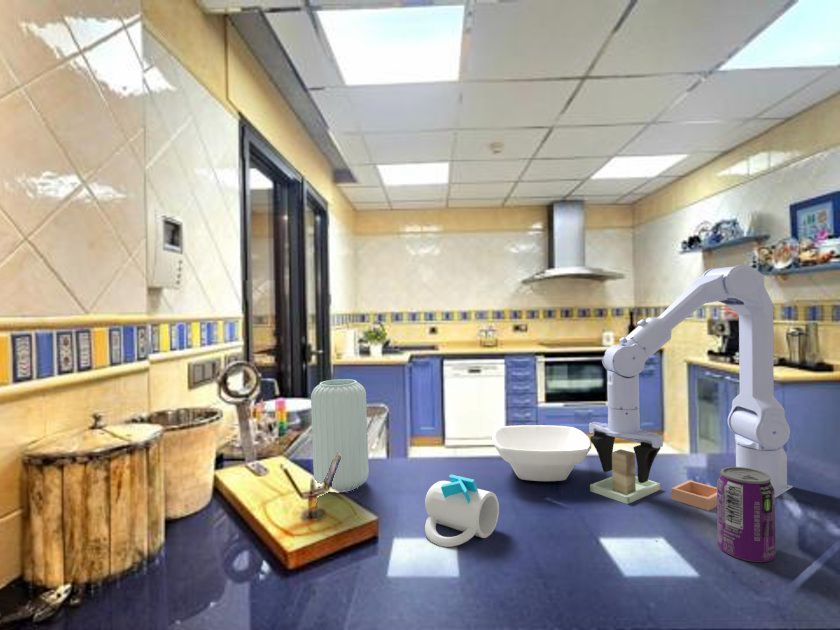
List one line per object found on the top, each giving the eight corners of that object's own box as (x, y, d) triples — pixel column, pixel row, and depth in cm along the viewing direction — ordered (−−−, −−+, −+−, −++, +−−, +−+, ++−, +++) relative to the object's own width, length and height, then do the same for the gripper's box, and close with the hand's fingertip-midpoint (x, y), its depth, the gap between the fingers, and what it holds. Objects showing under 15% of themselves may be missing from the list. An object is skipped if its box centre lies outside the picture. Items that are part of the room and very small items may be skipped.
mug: (432, 460, 89) (490, 473, 81) (445, 499, 92) (502, 515, 84) (393, 507, 80) (454, 526, 73) (409, 548, 84) (469, 570, 76)
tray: (623, 480, 103) (622, 472, 103) (660, 492, 96) (660, 483, 96) (590, 493, 96) (589, 484, 96) (627, 507, 90) (627, 497, 90)
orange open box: (689, 493, 95) (689, 480, 95) (726, 504, 90) (726, 490, 90) (671, 502, 92) (671, 488, 91) (708, 514, 86) (708, 499, 86)
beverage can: (785, 569, 68) (784, 483, 68) (729, 565, 70) (728, 481, 70) (761, 544, 75) (760, 466, 75) (710, 541, 77) (709, 464, 76)
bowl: (492, 459, 119) (491, 424, 119) (580, 461, 116) (580, 425, 116) (493, 493, 99) (492, 450, 98) (600, 495, 96) (599, 451, 96)
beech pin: (621, 486, 98) (620, 449, 98) (635, 491, 96) (634, 452, 96) (612, 490, 96) (611, 452, 96) (626, 494, 94) (625, 455, 94)
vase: (315, 500, 98) (311, 388, 97) (313, 480, 109) (309, 379, 108) (372, 493, 100) (369, 384, 100) (365, 474, 111) (362, 376, 111)
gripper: (579, 404, 100) (580, 470, 100) (647, 416, 88) (648, 492, 88) (600, 399, 104) (601, 463, 104) (668, 410, 92) (669, 482, 92)
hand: (624, 476), depth 96 cm, fingers open, 7 cm apart
